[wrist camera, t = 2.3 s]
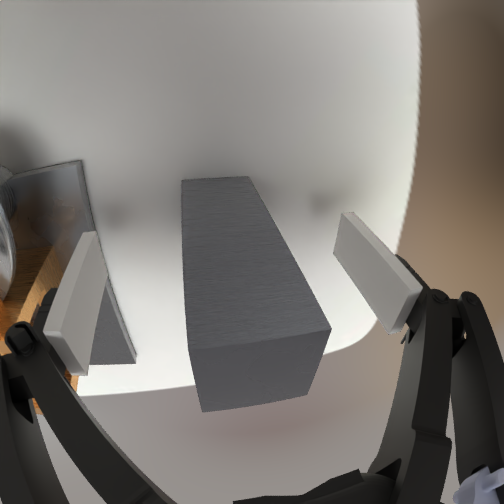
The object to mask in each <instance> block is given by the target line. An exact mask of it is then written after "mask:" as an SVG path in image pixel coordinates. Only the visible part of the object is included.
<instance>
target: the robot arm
mask: <svg viewBox="0 0 504 504" xmlns="http://www.w3.org/2000/svg"><path fill="white" fill-rule="evenodd" d="M333 254H334V255H335V257H336V258H337V259H338V261H339V262H340V264H341V265H342V267H343V268H344V269H345V271H346V272H347V274H348V275H349V276H350V278H351V279H352V281H353V282H354V284H355V285H356V287H357V288H358V290H359V291H360V292H361V294H362V295H363V297H364V298H365V300H366V301H367V303H368V304H369V306H370V307H371V309H372V310H373V312H374V313H375V315H376V316H377V318H378V319H379V321H380V322H381V324H382V326H383V327H384V329H385V330H386V332H387V333H388V335H390V334H393V333H397V332H400V331H401V330H402V328H403V326H404V324H405V322H406V323H407V325H408V326H409V329H408V330H407V332H406V334H405V336H404V338H403V339H402V341H401V344H403V342H404V341H405V346H404V352H403V357H402V363H401V368H400V373H399V378H398V383H397V388H396V391H395V396H394V400H393V404H392V408H391V412H390V415H389V419H388V423H387V427H386V430H385V433H384V437H383V440H382V443H381V446H380V449H379V452H378V454H377V457H376V458H375V459H374V461H373V462H372V464H371V466H370V468H369V470H368V472H367V473H360V471H359V469H357V470H354V471H352V472H349V473H346V474H343V475H341V476H338V477H335V478H332V479H330V480H328V481H326V482H325V483H323V484H321V485H319V486H318V487H316V488H314V489H312V490H311V491H309V492H307V493H305V494H303V495H298V496H262V497H257V498H251V499H245V500H238V501H233V504H444V503H442V502H440V499H441V495H442V492H443V488H444V483H445V479H446V475H447V470H448V465H449V460H450V455H451V449H452V441H451V439H450V438H448V437H446V426H447V418H448V409H449V401H450V395H451V402H452V410H453V420H454V430H455V444H456V463H457V473H458V480H459V484H460V488H459V490H458V491H456V492H455V494H454V495H453V501H454V502H455V503H456V504H504V362H503V359H502V356H501V353H500V350H499V347H498V344H497V341H496V338H495V335H494V332H493V330H492V327H491V324H490V322H489V319H488V317H487V314H486V312H485V310H484V307H483V304H482V302H481V301H480V299H479V298H478V297H477V295H475V294H474V293H472V292H467V291H465V292H463V293H462V294H461V296H460V298H459V299H450V298H449V297H448V295H447V294H445V293H444V292H443V291H440V290H438V289H430V288H429V286H428V285H427V284H426V283H425V282H424V281H423V280H422V279H421V277H420V276H419V275H418V274H417V273H415V271H414V270H413V268H411V267H410V265H409V264H408V263H407V262H406V261H405V260H404V259H403V258H401V257H400V256H398V255H394V254H393V253H392V252H391V251H390V250H389V249H388V247H387V246H386V245H385V244H384V243H383V242H382V241H381V240H380V239H379V238H378V237H377V236H376V235H375V234H374V233H373V232H372V231H371V230H370V229H369V228H368V227H367V226H366V225H365V223H364V222H363V221H362V220H361V219H360V218H359V217H358V216H357V215H356V214H355V213H354V212H347V213H342V214H341V219H340V224H339V229H338V233H337V238H336V243H335V247H334V252H333ZM107 276H108V272H107V269H106V265H105V262H104V258H103V255H102V251H101V247H100V243H99V240H98V236H97V232H96V231H91V232H83V234H82V236H81V238H80V240H79V242H78V244H77V246H76V248H75V250H74V253H73V255H72V257H71V259H70V262H69V264H68V266H67V268H66V271H65V273H64V275H63V278H62V280H61V283H60V285H59V288H51V289H50V290H49V291H48V292H47V293H46V294H45V295H44V297H43V300H42V302H41V306H40V307H39V310H38V313H37V315H36V318H35V320H34V323H33V326H31V325H30V324H29V323H28V322H25V321H20V322H17V323H15V324H13V325H12V326H11V327H10V328H9V329H8V330H7V332H6V334H5V337H4V340H5V344H6V345H7V347H8V348H9V349H10V351H11V352H12V353H9V354H6V355H1V354H0V498H1V501H2V503H3V504H69V502H68V500H67V498H66V495H65V493H64V491H63V489H62V487H61V484H60V482H59V480H58V478H57V475H56V472H55V470H54V467H53V465H52V462H51V459H50V457H49V454H48V451H47V449H46V445H45V442H44V439H43V436H42V433H41V430H40V426H39V423H38V419H37V416H36V412H35V408H34V404H33V400H32V398H35V400H36V402H37V404H38V406H39V408H40V410H41V411H42V413H43V415H44V417H45V418H46V420H47V422H48V424H49V425H50V427H51V429H52V430H53V432H54V433H55V435H56V437H57V438H58V440H59V441H60V443H61V444H62V446H63V447H64V449H65V450H66V452H67V453H68V455H69V456H70V458H71V459H72V460H73V462H74V463H75V465H76V466H77V467H78V468H79V470H80V471H81V473H82V474H83V475H84V476H85V478H86V479H87V480H88V482H89V483H90V484H91V485H92V487H93V488H94V489H95V490H96V491H97V493H98V494H99V495H100V496H101V497H102V498H103V500H104V501H105V502H106V503H107V504H177V503H176V502H175V501H173V500H172V499H171V498H170V497H169V496H167V495H166V494H165V493H164V492H163V491H162V490H161V489H160V488H159V487H157V486H156V485H155V484H154V483H153V482H152V481H151V480H150V479H149V478H148V477H147V476H146V475H145V474H144V473H143V472H142V471H141V470H140V469H139V468H138V467H137V466H136V465H135V464H134V463H133V462H132V461H131V460H130V459H129V458H128V457H127V456H126V454H125V453H124V452H123V451H122V450H121V449H120V448H119V447H118V446H117V444H116V443H115V442H114V441H113V440H112V439H111V437H110V436H109V435H108V434H107V433H106V431H105V430H104V429H103V428H102V426H101V425H100V424H99V423H98V422H97V420H96V419H95V418H94V416H93V415H92V414H91V412H90V411H89V410H88V409H87V407H86V406H85V404H84V403H83V402H82V400H81V399H80V397H79V396H78V395H77V393H76V392H75V390H74V389H73V387H72V386H71V384H70V383H69V381H68V380H67V378H66V377H65V370H66V368H67V370H68V371H69V373H70V374H71V375H74V376H88V369H89V362H90V356H91V350H92V344H93V339H94V333H95V328H96V323H97V318H98V314H99V309H100V305H101V300H102V296H103V292H104V288H105V284H106V280H107ZM465 332H466V339H465V338H464V334H465Z"/></svg>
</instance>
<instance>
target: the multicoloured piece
mask: <svg viewBox="0 0 504 504" xmlns="http://www.w3.org/2000/svg"><path fill="white" fill-rule="evenodd" d="M91 231H95V227H94V223H93V218H92V214H91V210H90V205H89V200H88V195H87V190H86V185H85V180H84V174H83V168H82V162H81V160H80V161H75V162H69V163H64V164H59V165H54V166H49V167H44V168H40V169H35V170H31V171H27V172H23V173H18V174H14V175H13V174H12V173H11V172H10V171H9V170H8V169H7V168H5V167H3V166H0V354H1V355H6V354H9V353H12V352H11V351H10V349H9V348H8V347H7V345H6V344H5V340H4V337H5V334H6V332H7V330H8V329H9V328H10V327H11V326H12V325H13V324H15V323H17V322H20V321H25V322H28V323H29V324H30V325H31V326H33V323H34V320H35V318H36V315H37V313H38V310H39V307H40V306H41V302H42V300H43V297H44V295H45V294H46V293H47V292H48V291H49V290H50V289H51V288H59V285H60V283H61V280H62V278H63V275H64V273H65V271H66V268H67V266H68V264H69V262H70V259H71V257H72V255H73V253H74V250H75V248H76V246H77V244H78V242H79V240H80V238H81V236H82V234H83V232H91ZM110 364H136V353H135V350H134V348H133V345H132V343H131V340H130V338H129V335H128V333H127V330H126V328H125V325H124V322H123V319H122V317H121V314H120V311H119V308H118V305H117V302H116V299H115V297H114V293H113V290H112V287H111V284H110V281H109V278H108V276H107V280H106V284H105V288H104V292H103V296H102V300H101V305H100V309H99V314H98V318H97V323H96V328H95V333H94V339H93V344H92V350H91V356H90V362H89V365H110ZM65 377H66V378H67V380H68V381H69V383H70V384H71V386H72V387H73V389H74V390H75V392H76V391H77V384H78V377H79V376H74V375H71V374H70V373H69V371H68V370H67V368H66V370H65ZM32 400H33V404H34V408H35V412H36V414H41V415H43V413H42V411H41V410H40V408H39V406H38V404H37V402H36V400H35V398H32ZM43 416H44V415H43Z"/></svg>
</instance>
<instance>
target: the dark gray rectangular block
mask: <svg viewBox="0 0 504 504" xmlns="http://www.w3.org/2000/svg"><path fill="white" fill-rule="evenodd" d="M181 209H182V257H183V281H184V299H185V315H186V329H187V341H188V351H189V356H190V361H191V366H192V370H193V375H194V379H195V384H196V388H197V393H198V397H199V401H200V405H201V409H202V412H210V411H219V410H226V409H234V408H241V407H248V406H253V405H260V404H265V403H270V402H276V401H281V400H286V399H291V398H295V397H300V396H304V395H307V394H308V391H309V389H310V386H311V384H312V381H313V379H314V376H315V373H316V371H317V368H318V366H319V363H320V360H321V358H322V355H323V352H324V349H325V347H326V344H327V341H328V338H329V335H330V332H331V330H332V328H331V326H330V324H329V322H328V321H327V319H326V317H325V315H324V313H323V311H322V309H321V307H320V305H319V303H318V302H317V300H316V298H315V296H314V294H313V292H312V290H311V288H310V286H309V285H308V283H307V281H306V279H305V277H304V275H303V273H302V272H301V270H300V268H299V266H298V264H297V262H296V261H295V259H294V257H293V255H292V253H291V251H290V250H289V248H288V246H287V244H286V242H285V241H284V239H283V237H282V235H281V233H280V232H279V230H278V228H277V226H276V224H275V223H274V221H273V219H272V217H271V216H270V214H269V212H268V210H267V209H266V207H265V205H264V203H263V202H262V200H261V198H260V196H259V195H258V193H257V191H256V189H255V188H254V186H253V184H252V182H251V181H250V179H249V177H226V178H209V179H194V180H182V184H181Z"/></svg>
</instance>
